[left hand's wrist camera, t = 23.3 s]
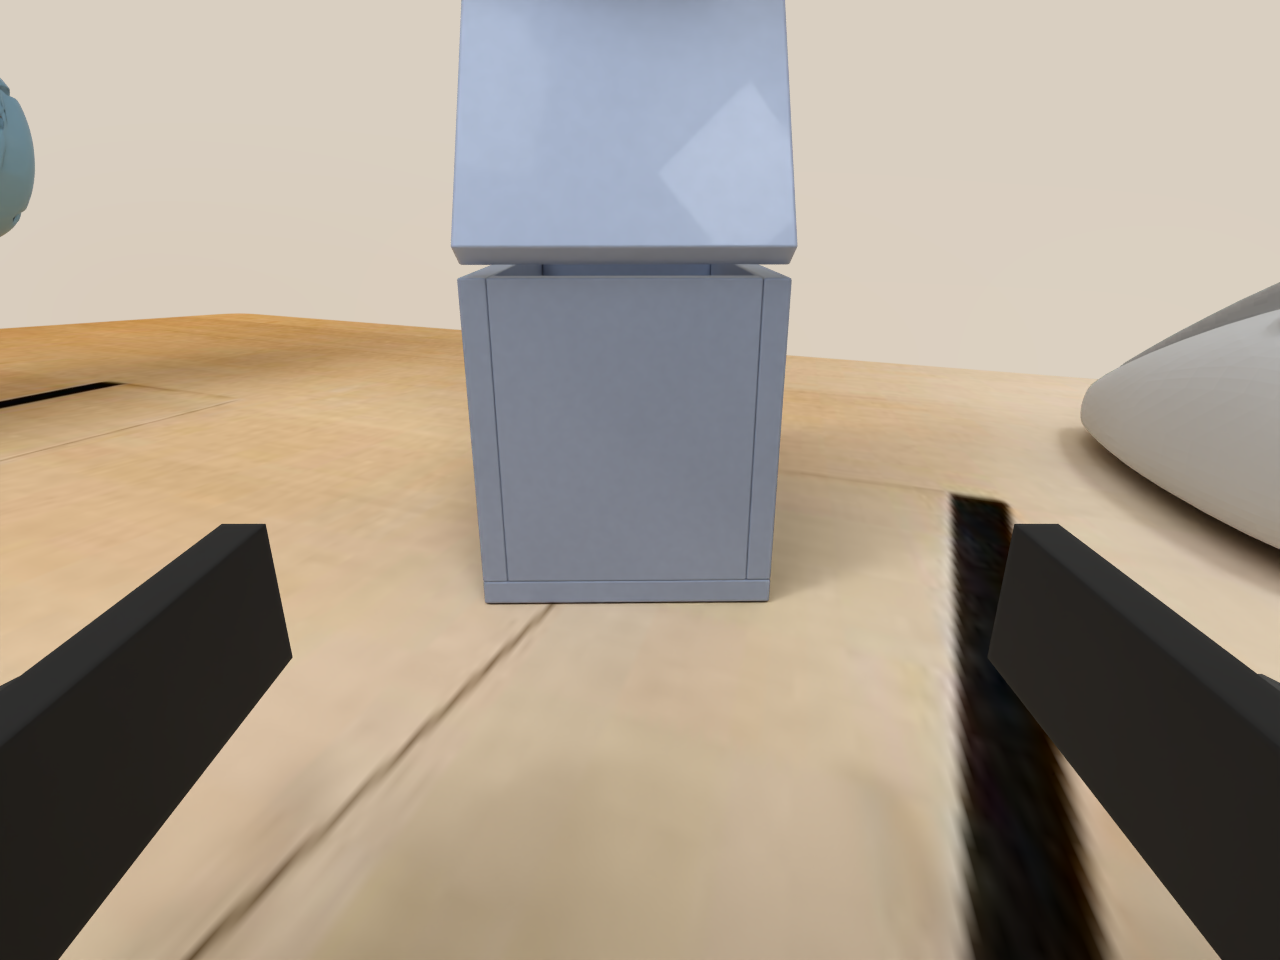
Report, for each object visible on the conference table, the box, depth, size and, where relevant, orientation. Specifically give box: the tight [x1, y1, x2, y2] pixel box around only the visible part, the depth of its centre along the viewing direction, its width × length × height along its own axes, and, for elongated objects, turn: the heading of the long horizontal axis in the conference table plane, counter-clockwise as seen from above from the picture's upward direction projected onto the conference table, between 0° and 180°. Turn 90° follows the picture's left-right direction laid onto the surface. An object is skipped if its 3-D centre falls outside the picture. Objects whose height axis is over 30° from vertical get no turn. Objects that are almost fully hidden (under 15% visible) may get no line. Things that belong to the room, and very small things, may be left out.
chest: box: [457, 264, 791, 603], centre depth 31 cm, size 15×10×11 cm, turn 1°
